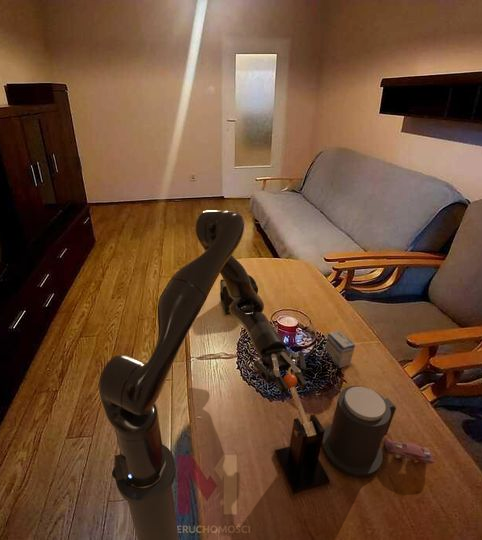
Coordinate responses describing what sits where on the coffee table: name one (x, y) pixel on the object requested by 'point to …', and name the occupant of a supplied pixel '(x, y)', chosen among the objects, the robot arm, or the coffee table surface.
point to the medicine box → (339, 349)
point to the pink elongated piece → (409, 451)
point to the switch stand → (303, 458)
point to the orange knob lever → (299, 405)
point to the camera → (226, 297)
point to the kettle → (358, 432)
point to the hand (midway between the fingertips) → (295, 390)
